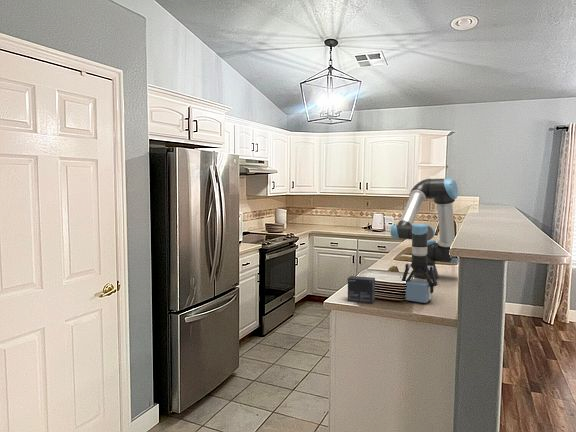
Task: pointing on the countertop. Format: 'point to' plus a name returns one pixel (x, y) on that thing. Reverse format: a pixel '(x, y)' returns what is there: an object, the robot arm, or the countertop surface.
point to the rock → (393, 269)
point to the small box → (361, 289)
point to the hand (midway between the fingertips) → (419, 297)
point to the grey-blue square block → (417, 290)
